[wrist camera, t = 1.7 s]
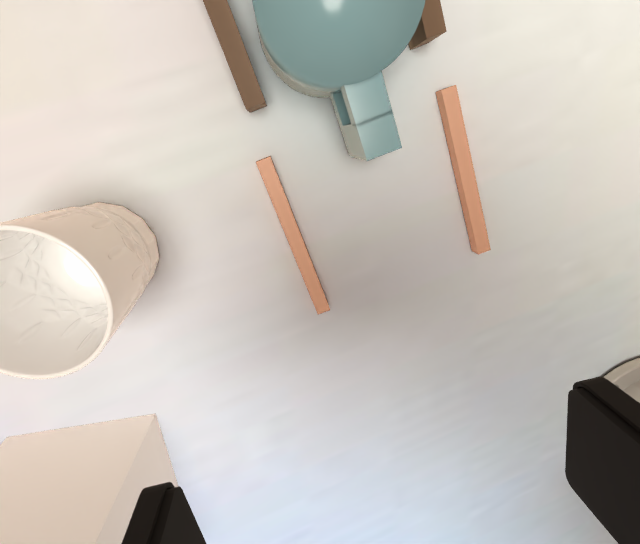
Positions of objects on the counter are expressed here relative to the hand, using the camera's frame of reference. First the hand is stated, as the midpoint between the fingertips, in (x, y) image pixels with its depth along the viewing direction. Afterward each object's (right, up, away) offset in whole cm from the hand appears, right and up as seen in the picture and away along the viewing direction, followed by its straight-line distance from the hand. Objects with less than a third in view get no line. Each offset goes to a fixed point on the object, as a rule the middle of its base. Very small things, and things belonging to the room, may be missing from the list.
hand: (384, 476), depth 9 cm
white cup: (-16, +7, +19) cm, 26 cm away
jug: (-1, +18, +16) cm, 24 cm away
